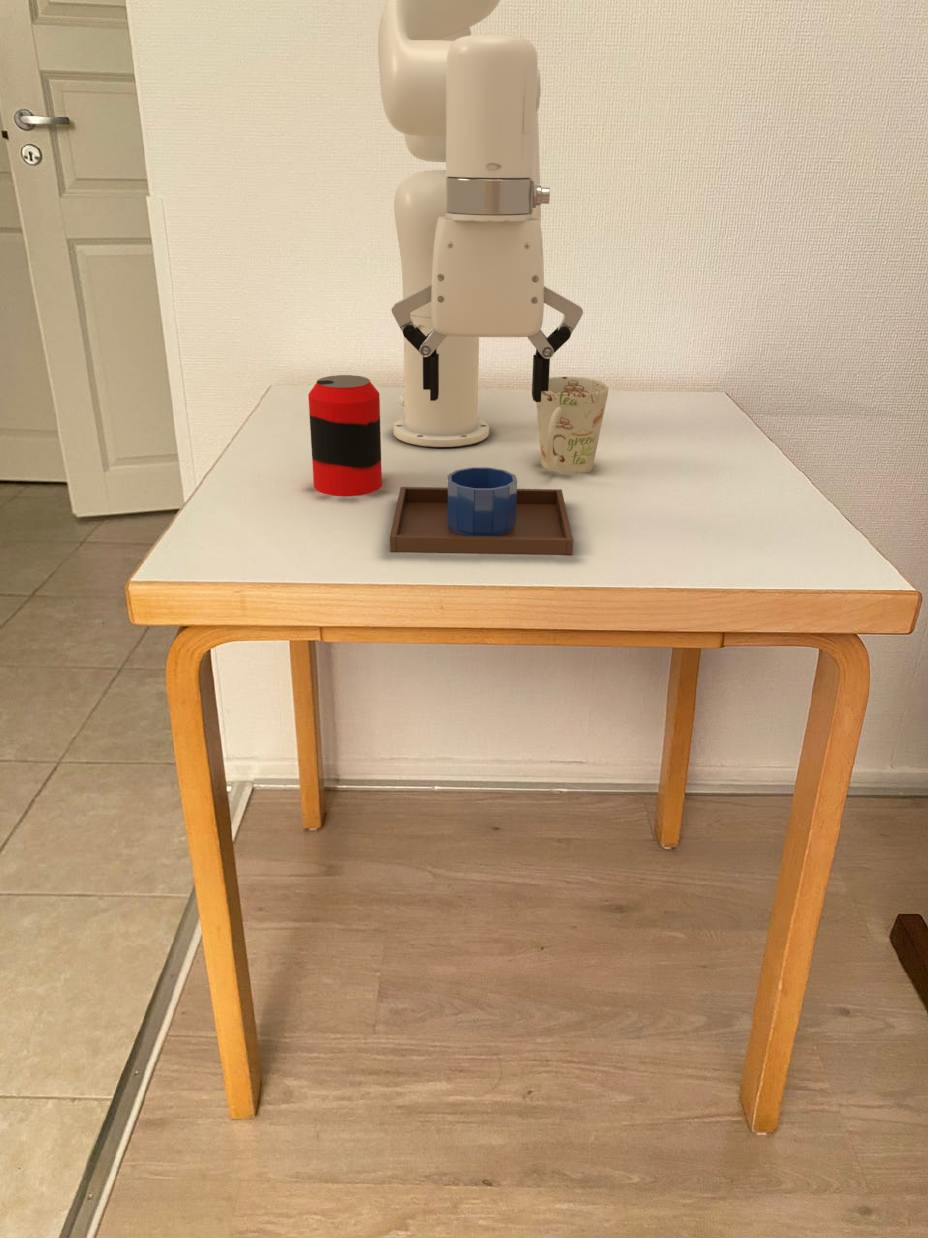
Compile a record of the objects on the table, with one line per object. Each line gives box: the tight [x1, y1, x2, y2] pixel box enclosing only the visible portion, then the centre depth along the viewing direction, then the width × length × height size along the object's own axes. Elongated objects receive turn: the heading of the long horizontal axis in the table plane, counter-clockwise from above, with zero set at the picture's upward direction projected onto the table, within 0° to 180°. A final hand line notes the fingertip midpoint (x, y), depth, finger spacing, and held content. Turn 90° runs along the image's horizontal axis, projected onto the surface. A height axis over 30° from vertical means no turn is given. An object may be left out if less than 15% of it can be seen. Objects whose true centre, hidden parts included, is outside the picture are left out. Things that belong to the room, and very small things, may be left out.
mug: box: [535, 376, 609, 474], centre depth 112 cm, size 8×13×10 cm, turn 161°
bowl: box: [446, 466, 518, 537], centre depth 97 cm, size 7×7×5 cm
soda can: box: [307, 374, 383, 497], centre depth 106 cm, size 8×8×12 cm
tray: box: [389, 486, 574, 556], centre depth 98 cm, size 17×14×2 cm
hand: (485, 398), depth 92 cm, fingers open, 9 cm apart
